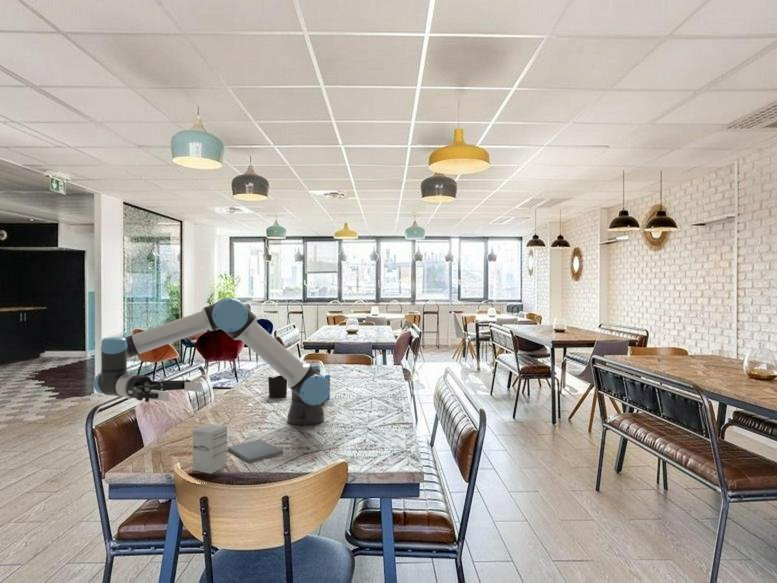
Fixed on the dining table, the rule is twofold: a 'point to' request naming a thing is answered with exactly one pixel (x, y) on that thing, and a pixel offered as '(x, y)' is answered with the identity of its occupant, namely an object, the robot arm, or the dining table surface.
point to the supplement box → (209, 448)
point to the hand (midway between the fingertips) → (185, 391)
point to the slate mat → (255, 450)
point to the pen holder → (277, 387)
